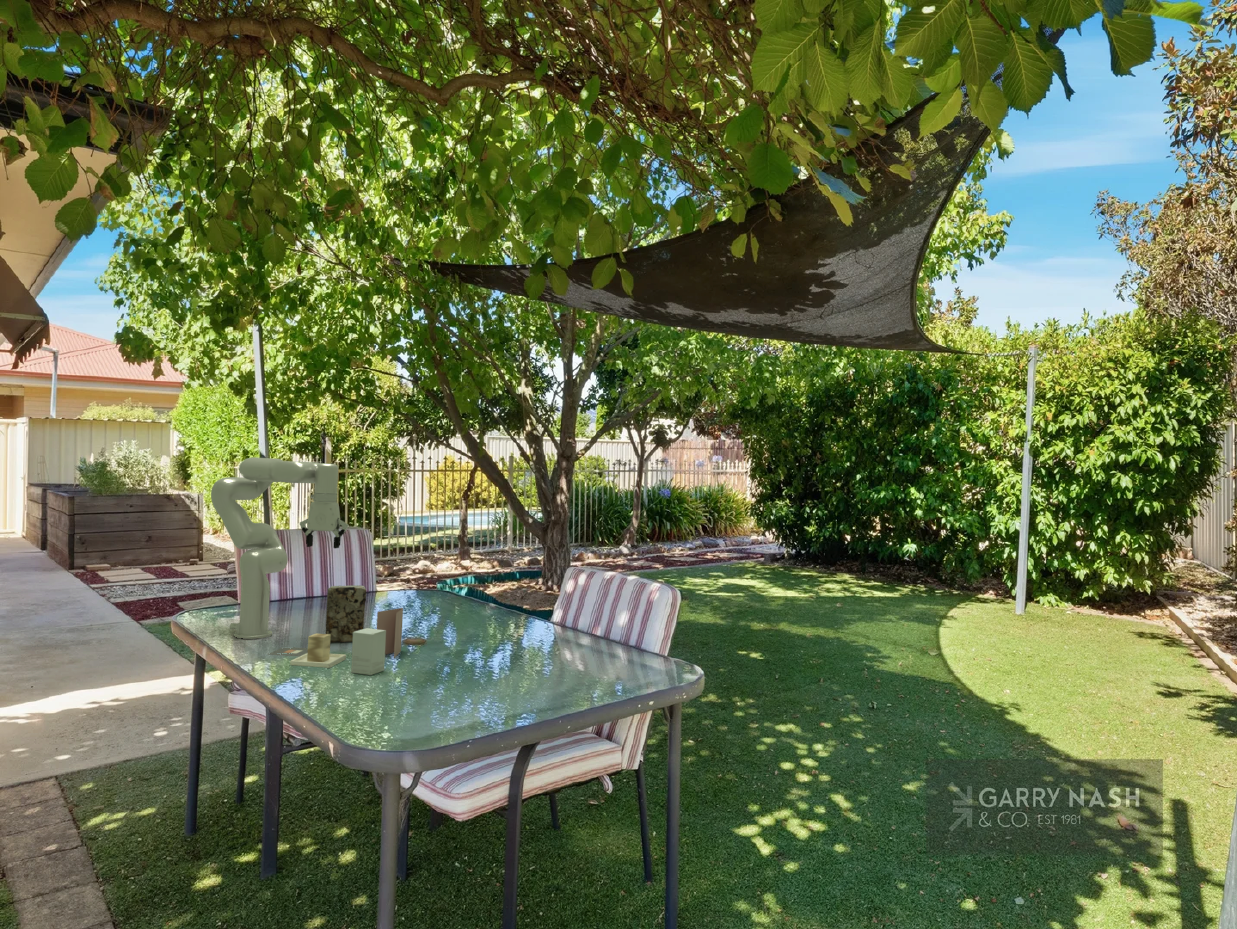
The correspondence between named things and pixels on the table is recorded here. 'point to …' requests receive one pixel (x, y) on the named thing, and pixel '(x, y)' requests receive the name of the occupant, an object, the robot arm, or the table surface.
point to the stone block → (345, 612)
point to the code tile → (290, 651)
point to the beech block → (318, 647)
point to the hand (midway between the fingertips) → (322, 547)
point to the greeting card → (391, 629)
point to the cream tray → (329, 663)
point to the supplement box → (368, 651)
